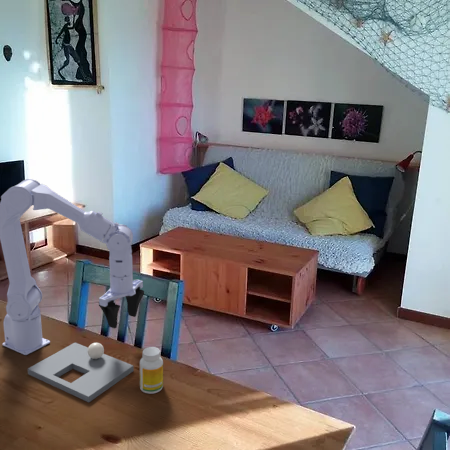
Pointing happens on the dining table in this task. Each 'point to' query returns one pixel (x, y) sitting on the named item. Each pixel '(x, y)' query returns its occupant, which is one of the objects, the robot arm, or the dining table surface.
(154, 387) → the supplement bottle
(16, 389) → the dining table surface
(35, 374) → the plate
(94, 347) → the ball
